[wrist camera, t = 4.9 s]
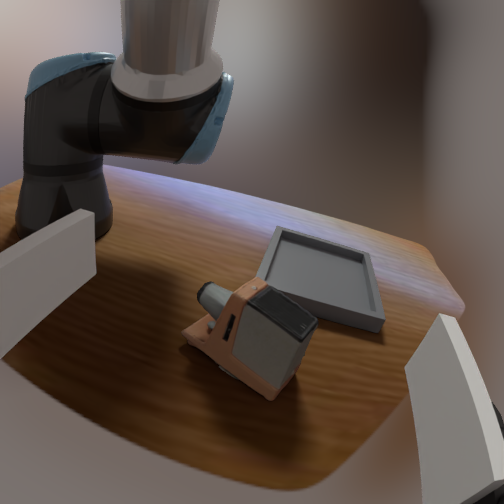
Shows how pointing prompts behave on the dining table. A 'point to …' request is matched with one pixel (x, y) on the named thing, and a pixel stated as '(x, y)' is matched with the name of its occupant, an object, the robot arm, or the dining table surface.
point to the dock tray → (324, 278)
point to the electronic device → (253, 334)
